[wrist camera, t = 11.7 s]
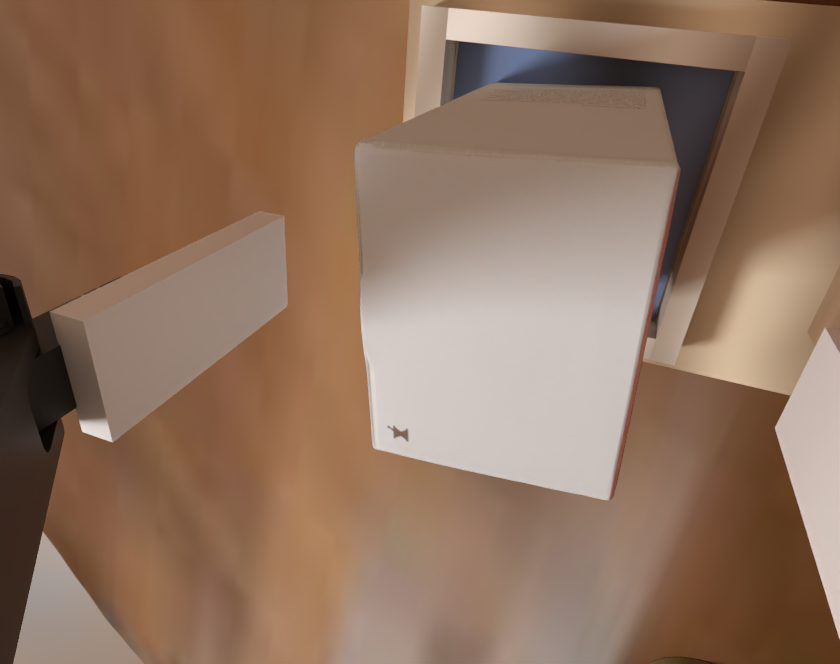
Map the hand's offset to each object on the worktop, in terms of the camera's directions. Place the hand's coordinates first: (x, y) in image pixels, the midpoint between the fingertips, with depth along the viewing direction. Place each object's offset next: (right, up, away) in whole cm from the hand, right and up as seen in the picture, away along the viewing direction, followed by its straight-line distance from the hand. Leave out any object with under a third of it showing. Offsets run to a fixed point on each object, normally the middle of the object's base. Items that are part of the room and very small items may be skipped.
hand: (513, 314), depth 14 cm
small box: (+3, +5, +9) cm, 11 cm away
